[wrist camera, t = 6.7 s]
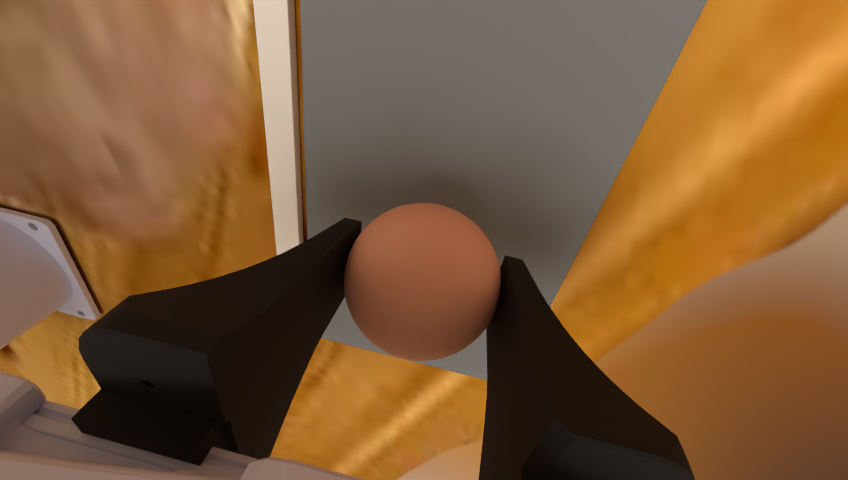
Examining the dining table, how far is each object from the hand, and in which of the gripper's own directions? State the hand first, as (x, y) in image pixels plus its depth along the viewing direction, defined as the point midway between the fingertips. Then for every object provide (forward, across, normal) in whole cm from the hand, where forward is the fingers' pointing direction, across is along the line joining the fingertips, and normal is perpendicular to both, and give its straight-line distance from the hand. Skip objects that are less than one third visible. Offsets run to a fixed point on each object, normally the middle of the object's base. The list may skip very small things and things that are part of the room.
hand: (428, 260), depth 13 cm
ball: (-1, 0, 0) cm, 1 cm away
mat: (+4, +1, 0) cm, 4 cm away
